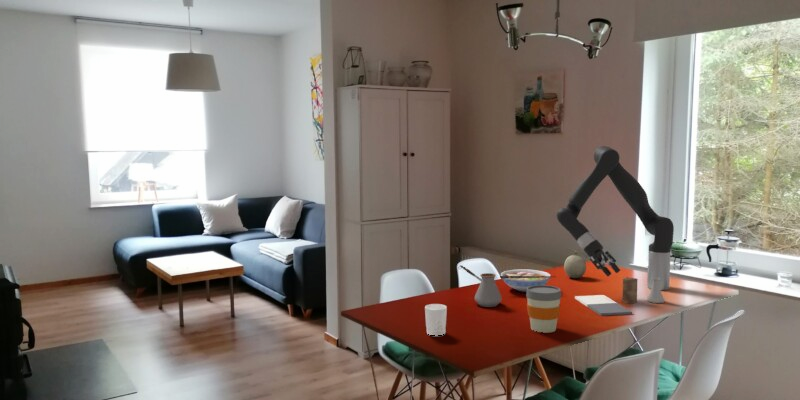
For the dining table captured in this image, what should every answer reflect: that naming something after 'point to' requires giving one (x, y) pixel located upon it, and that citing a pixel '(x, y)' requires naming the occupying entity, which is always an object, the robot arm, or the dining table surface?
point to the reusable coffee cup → (543, 307)
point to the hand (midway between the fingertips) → (614, 273)
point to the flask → (655, 292)
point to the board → (603, 305)
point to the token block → (629, 290)
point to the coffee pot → (486, 290)
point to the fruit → (575, 265)
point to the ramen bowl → (524, 278)
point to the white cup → (435, 319)
